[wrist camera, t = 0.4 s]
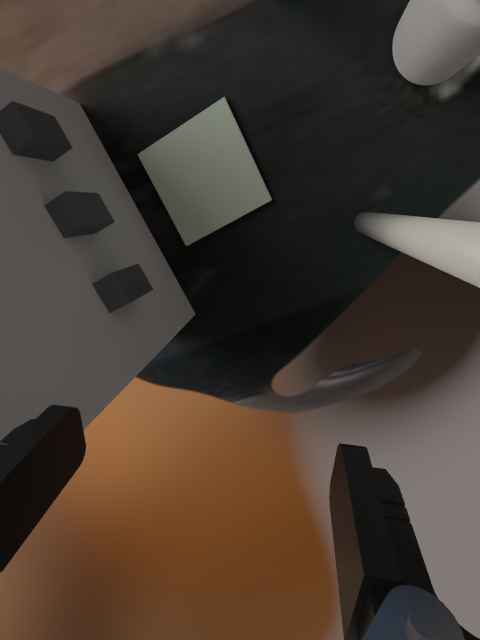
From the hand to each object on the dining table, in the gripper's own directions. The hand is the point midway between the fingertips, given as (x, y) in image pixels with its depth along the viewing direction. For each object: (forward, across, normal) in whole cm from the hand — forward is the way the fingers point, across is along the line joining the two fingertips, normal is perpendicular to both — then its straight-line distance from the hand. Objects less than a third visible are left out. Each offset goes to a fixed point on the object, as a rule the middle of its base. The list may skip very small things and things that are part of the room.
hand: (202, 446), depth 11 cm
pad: (+28, +7, -7) cm, 30 cm away
